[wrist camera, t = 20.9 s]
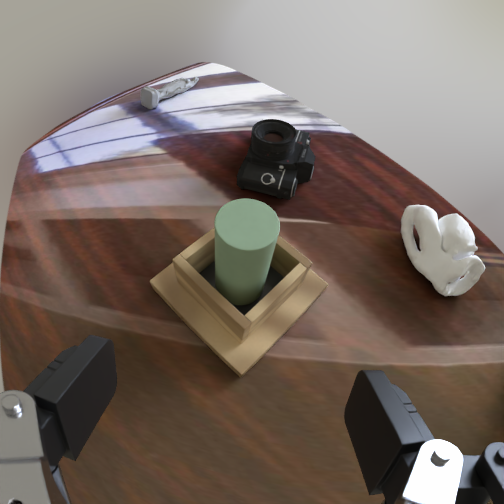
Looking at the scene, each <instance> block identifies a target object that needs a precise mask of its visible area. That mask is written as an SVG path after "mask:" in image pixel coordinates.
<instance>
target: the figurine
mask: <svg viewBox="0 0 504 504" xmlns="http://www.w3.org/2000/svg"><path fill="white" fill-rule="evenodd" d="M198 80H199V78H198V77H194V78H193V79H192V80H190V79H184V78H179V79H176V80H174V81H172V82H171V83H168V84H166V85H165V86H164V87H162V88H161V89H159V90H155V89H153V88H151V87H145V88H142V89H141V104H142V105H143V106H145V107H146V108H148V109H153V108H156V107H157V106H158V102H159V101H160V100H162V99H165V98H170V97H172V96H174V95H176V94H178V93H182V92H185V91H186V90H188V89H190V88H192V87H193V86H194V85H195V84H196V83H197V82H198Z"/></svg>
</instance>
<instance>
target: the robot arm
mask: <svg viewBox="0 0 504 504" xmlns="http://www.w3.org/2000/svg"><path fill="white" fill-rule="evenodd" d="M116 386H117V373H116V364H115V353H114V344H113V341H112V340H110V339H106V338H102V337H98V336H94V335H89V336H88V337H87V338H86V339H85V340H84V341H83V342H82V343H81V344H80V345H79V346H72V347H70V348H68V349H66V350H64V351H62V352H61V353H60V354H59V355H58V356H57V357H56V358H55V359H54V361H52V362H51V363H50V364H49V365H48V366H47V368H45V369H44V370H43V371H42V372H41V373H40V374H39V375H38V376H37V377H36V378H35V379H34V380H33V381H32V383H31V384H30V385H29V386H28V387H27V388H26V389H25V390H24V391H19V390H8V391H4V392H2V393H0V504H72V503H71V500H70V497H69V494H68V491H67V488H66V485H65V481H64V478H63V475H62V471H61V468H60V465H59V461H60V460H61V458H62V456H64V457H67V458H69V459H72V460H74V461H76V459H77V457H78V456H79V454H80V452H81V450H82V448H83V447H84V445H85V443H86V441H87V440H88V438H89V436H90V434H91V433H92V431H93V429H94V428H95V426H96V424H97V422H98V421H99V419H100V417H101V416H102V414H103V412H104V411H105V409H106V407H107V406H108V404H109V402H110V400H111V399H112V397H113V395H114V393H115V390H116ZM344 418H345V424H346V427H347V430H348V433H349V435H350V438H351V441H352V444H353V447H354V450H355V453H356V456H357V459H358V462H359V465H360V468H361V471H362V474H363V477H364V480H365V483H366V486H367V489H368V492H369V495H375V494H381V493H383V494H384V497H385V499H384V500H383V502H382V503H381V504H486V503H487V502H488V501H489V500H490V499H492V501H493V503H494V504H504V443H501V442H495V443H491V444H489V445H488V446H487V447H486V449H485V450H484V452H483V453H482V454H481V456H473V455H462V454H461V452H460V450H459V449H458V448H457V447H456V446H454V445H453V444H451V443H449V442H447V441H444V440H435V439H434V437H433V435H432V434H431V432H430V430H429V429H428V427H427V426H426V424H425V422H424V421H423V419H422V418H421V416H420V415H419V413H417V410H416V408H415V407H414V405H412V402H411V401H410V399H409V397H408V396H407V394H406V393H405V392H404V391H402V390H401V389H400V388H399V387H397V386H396V385H395V384H391V383H390V381H389V380H388V378H387V376H386V375H385V373H384V372H383V371H381V370H361V371H359V373H358V374H357V376H356V379H355V382H354V385H353V388H352V391H351V393H350V396H349V399H348V402H347V404H346V407H345V415H344Z"/></svg>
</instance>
